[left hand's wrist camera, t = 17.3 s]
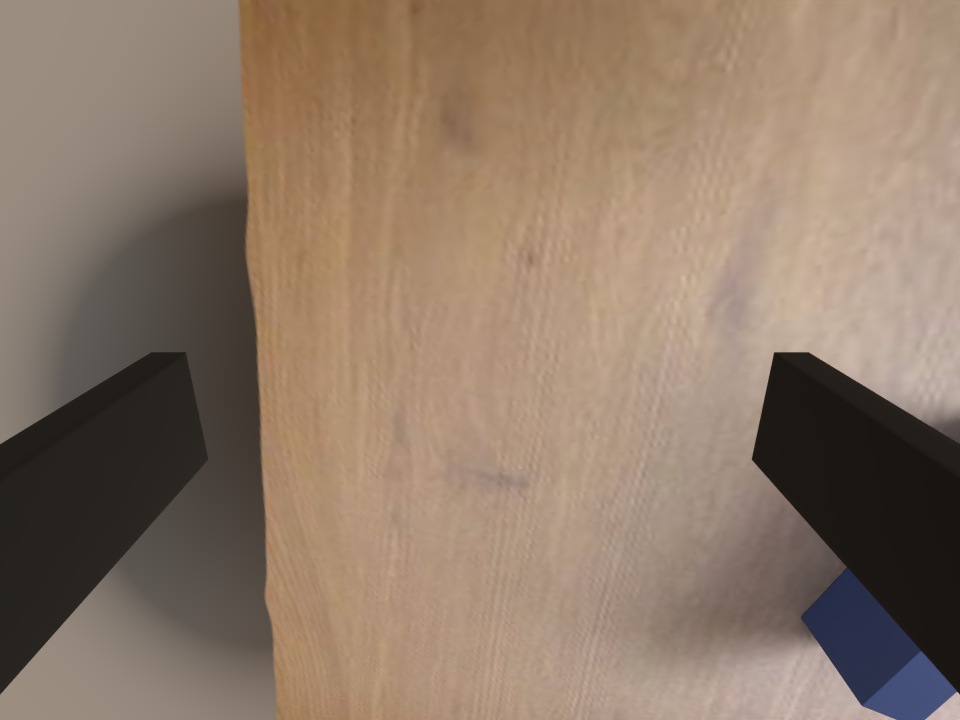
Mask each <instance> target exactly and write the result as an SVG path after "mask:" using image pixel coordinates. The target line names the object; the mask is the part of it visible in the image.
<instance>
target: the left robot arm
mask: <svg viewBox="0 0 960 720" xmlns="http://www.w3.org/2000/svg"><path fill="white" fill-rule="evenodd" d="M207 460H208V456H207V452H206V447H205V442H204V437H203V432H202V428H201V423H200V418H199V413H198V409H197V404H196V399H195V394H194V390H193V385H192V380H191V375H190V371H189V366H188V361H187V356H186V353H185V352H152V353H150V354H148V355H146V356H145V357H143V358H141V359H140V360H138V361H137V362H135V363H133V364H132V365H130V366H128V367H127V368H125V369H123V370H122V371H120V372H118V373H117V374H115V375H114V376H112V377H110V378H109V379H107V380H105V381H104V382H102V383H100V384H99V385H97V386H95V387H94V388H92V389H91V390H89V391H87V392H86V393H84V394H82V395H81V396H79V397H77V398H76V399H74V400H72V401H71V402H69V403H67V404H66V405H64V406H62V407H61V408H59V409H58V410H56V411H54V412H53V413H51V414H49V415H48V416H46V417H44V418H43V419H41V420H40V421H38V422H36V423H35V424H33V425H31V426H30V427H28V428H26V429H25V430H23V431H21V432H20V433H18V434H17V435H15V436H13V437H11V438H10V439H8V440H7V441H5V442H3V443H2V444H0V694H1V693H2V692H3V691H4V690H5V688H6V687H7V686H8V685H9V684H10V683H11V682H12V680H13V679H14V678H15V677H16V676H17V675H18V674H19V673H20V671H21V670H22V669H23V668H24V667H25V666H26V665H27V664H28V662H29V661H30V660H31V659H32V658H33V657H34V656H35V654H36V653H37V652H38V651H39V650H40V649H41V648H42V647H43V646H44V644H45V643H46V642H47V641H48V640H49V639H50V638H51V636H52V635H53V634H54V633H55V632H56V631H57V630H58V629H59V627H60V626H61V625H62V624H63V623H64V622H65V621H66V620H67V618H68V617H69V616H70V615H71V614H72V613H73V612H74V610H75V609H76V608H77V607H78V606H79V605H80V604H81V603H82V601H83V600H84V599H85V598H86V597H87V596H88V595H89V594H90V592H91V591H92V590H93V589H94V588H95V587H96V586H97V585H98V583H99V582H100V581H101V580H102V579H103V578H104V577H105V576H106V574H107V573H108V572H109V571H110V570H111V569H112V568H113V566H114V565H115V564H116V563H117V562H118V561H119V560H120V559H121V557H122V556H123V555H124V554H125V553H126V552H127V551H128V550H129V548H130V547H131V546H132V545H133V544H134V543H135V542H136V541H137V539H138V538H139V537H140V536H141V535H142V534H143V533H144V531H145V530H146V529H147V528H148V527H149V526H150V525H151V524H152V522H153V521H154V520H155V519H156V518H157V517H158V516H159V515H160V513H161V512H162V511H163V510H164V509H165V508H166V507H167V506H168V504H169V503H170V502H171V501H172V500H173V499H174V498H175V496H176V495H177V494H178V493H179V492H180V491H181V490H182V489H183V487H184V486H185V485H186V484H187V483H188V482H189V481H190V480H191V478H192V477H193V476H194V475H195V474H196V473H197V472H198V470H199V469H200V468H201V467H202V466H203V465H204V464H205V463H206V461H207ZM752 460H753V461H754V463H755V464H756V465H757V466H758V467H759V468H760V469H761V471H762V472H763V473H764V474H765V475H766V476H767V477H768V478H769V480H770V481H771V482H772V483H773V484H774V485H775V486H776V487H777V489H778V490H779V491H780V492H781V493H782V494H783V495H784V496H785V498H786V499H787V500H788V501H789V502H790V503H791V504H792V506H793V507H794V508H795V509H796V510H797V511H798V512H799V513H800V515H801V516H802V517H803V518H804V519H805V520H806V521H807V522H808V524H809V525H810V526H811V527H812V528H813V529H814V530H815V531H816V533H817V534H818V535H819V536H820V537H821V538H822V539H823V541H824V542H825V543H826V544H827V545H828V546H829V547H830V548H831V550H832V551H833V552H834V553H835V554H836V555H837V556H838V557H839V559H840V560H841V561H842V562H843V563H844V564H845V565H846V566H847V568H848V569H849V570H850V571H851V572H852V573H853V574H854V576H855V577H856V578H857V579H858V580H859V581H860V582H861V583H862V585H863V586H864V587H865V588H866V589H867V590H868V591H869V592H870V594H871V595H872V596H873V597H874V598H875V599H876V600H877V601H878V603H879V604H880V605H881V606H882V607H883V608H884V609H885V611H886V612H887V613H888V614H889V615H890V616H891V617H892V618H893V620H894V621H895V622H896V623H897V624H898V625H899V626H900V627H901V629H902V630H903V631H904V632H905V633H906V634H907V635H908V636H909V638H910V639H911V640H912V641H913V642H914V643H915V644H916V646H917V647H918V648H919V649H920V650H921V651H922V652H923V653H924V655H925V656H926V657H927V658H928V659H929V660H930V661H931V662H932V664H933V665H934V666H935V667H936V668H937V669H938V670H939V671H940V673H941V674H942V675H943V676H944V677H945V678H946V679H947V681H948V682H949V683H950V684H951V685H952V686H953V687H954V688H955V690H956V691H957V692H958V693H959V694H960V444H958V443H957V442H955V441H953V440H952V439H950V438H949V437H947V436H945V435H944V434H942V433H940V432H939V431H937V430H935V429H934V428H932V427H930V426H929V425H927V424H926V423H924V422H922V421H921V420H919V419H917V418H916V417H914V416H912V415H911V414H909V413H907V412H906V411H904V410H902V409H901V408H899V407H898V406H896V405H894V404H893V403H891V402H889V401H888V400H886V399H884V398H883V397H881V396H879V395H878V394H876V393H875V392H873V391H871V390H870V389H868V388H866V387H865V386H863V385H861V384H860V383H858V382H856V381H855V380H853V379H851V378H850V377H848V376H847V375H845V374H843V373H842V372H840V371H838V370H837V369H835V368H833V367H832V366H830V365H828V364H827V363H825V362H824V361H822V360H820V359H819V358H817V357H815V356H814V355H812V354H810V353H809V352H774V356H773V361H772V366H771V370H770V375H769V380H768V385H767V390H766V394H765V399H764V404H763V409H762V413H761V418H760V423H759V428H758V432H757V437H756V442H755V447H754V451H753V456H752Z"/></svg>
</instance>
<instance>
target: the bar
mask: <svg viewBox="0 0 960 720" xmlns="http://www.w3.org/2000/svg"><path fill="white" fill-rule="evenodd" d="M801 618H802V620H803V621H804V623H805V624H806V625H807V627H808V628H809V630H810V631H811V633H812V634H813V636H814V637H815V639H816V640H817V641H818V643H819V644H820V646H821V647H822V649H823V650H824V652H825V653H826V655H827V656H828V657H829V659H830V660H831V662H832V663H833V665H834V666H835V668H836V669H837V670H838V672H839V673H840V675H841V676H842V678H843V679H844V681H845V682H846V684H847V685H848V686H849V688H850V689H851V691H852V692H853V694H854V695H855V697H856V698H857V699H858V701H859V702H860V704H861V705H862V706H864V707H866V708H869V709H871V710H874V711H876V712H879V713H881V714H884V715H886V716H889V717H891V718H894V719H896V720H925V719H926V718H927V717H928V716H930V715H931V714H932V713H933V712H934V711H935V710H937V709H938V708H939V707H940V706H941V705H942V704H943V703H945V702H946V701H947V700H948V699H949V698H950V697H951V696H953V695H954V694H955V693H956V692H957V691H956V690H955V688H954V687H953V686H952V685H951V684H950V683H949V682H948V681H947V679H946V678H945V677H944V676H943V675H942V674H941V673H940V671H939V670H938V669H937V668H936V667H935V666H934V665H933V664H932V662H931V661H930V660H929V659H928V658H927V657H926V656H925V655H924V653H923V652H922V651H921V650H920V649H919V648H918V647H917V646H916V644H915V643H914V642H913V641H912V640H911V639H910V638H909V636H908V635H907V634H906V633H905V632H904V631H903V630H902V629H901V627H900V626H899V625H898V624H897V623H896V622H895V621H894V620H893V618H892V617H891V616H890V615H889V614H888V613H887V612H886V611H885V609H884V608H883V607H882V606H881V605H880V604H879V603H878V601H877V600H876V599H875V598H874V597H873V596H872V595H871V594H870V592H869V591H868V590H867V589H866V588H865V587H864V586H863V585H862V583H861V582H860V581H859V580H858V579H857V578H856V577H855V576H854V574H853V573H852V572H851V571H850V570H849V569H848V568H847V569H846V570H845V571H844V572H843V573H842V574H841V575H840V576H839V577H838V578H837V579H836V581H835V582H834V583H833V584H832V585H831V586H830V587H829V588H828V589H827V590H826V591H825V592H824V593H823V594H822V595H821V597H820V598H819V599H818V600H817V601H816V602H815V603H814V604H813V605H812V606H811V607H810V608H809V609H808V610H807V612H806V613H805V614H804V615H803V616H802V617H801Z"/></svg>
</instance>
